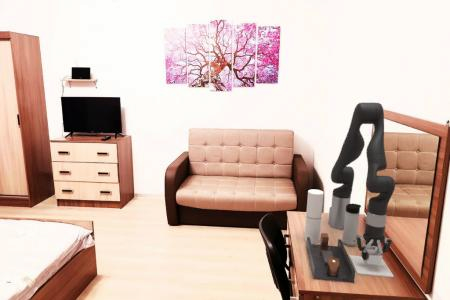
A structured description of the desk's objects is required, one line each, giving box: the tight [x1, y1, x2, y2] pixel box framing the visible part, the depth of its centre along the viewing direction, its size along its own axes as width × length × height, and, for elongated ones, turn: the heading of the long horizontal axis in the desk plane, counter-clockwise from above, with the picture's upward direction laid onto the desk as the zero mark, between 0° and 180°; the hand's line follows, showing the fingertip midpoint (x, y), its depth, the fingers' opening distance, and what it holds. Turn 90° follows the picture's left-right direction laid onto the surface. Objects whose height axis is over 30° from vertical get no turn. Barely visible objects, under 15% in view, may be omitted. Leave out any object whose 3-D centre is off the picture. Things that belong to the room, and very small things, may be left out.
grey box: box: [362, 243, 383, 265], centre depth 138 cm, size 9×5×5 cm, turn 173°
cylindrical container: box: [304, 188, 324, 244], centre depth 159 cm, size 7×7×25 cm
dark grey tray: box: [305, 232, 356, 283], centre depth 141 cm, size 26×15×8 cm, turn 173°
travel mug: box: [341, 203, 362, 247], centre depth 156 cm, size 6×7×20 cm
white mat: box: [348, 255, 395, 278], centre depth 139 cm, size 14×14×1 cm
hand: (371, 259), depth 138 cm, fingers closed on grey box, 5 cm apart
